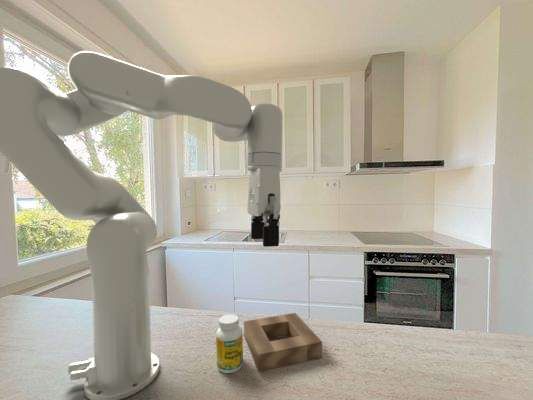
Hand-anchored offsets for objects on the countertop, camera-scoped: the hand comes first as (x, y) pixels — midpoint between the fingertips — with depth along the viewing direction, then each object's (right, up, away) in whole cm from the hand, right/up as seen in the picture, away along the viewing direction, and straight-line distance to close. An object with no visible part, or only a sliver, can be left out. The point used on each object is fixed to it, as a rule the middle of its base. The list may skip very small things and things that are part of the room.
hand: (263, 242), depth 54 cm
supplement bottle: (-7, -25, -3) cm, 26 cm away
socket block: (+4, -25, +3) cm, 25 cm away
